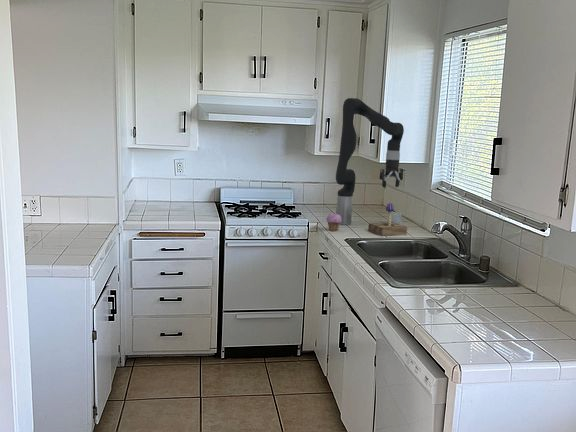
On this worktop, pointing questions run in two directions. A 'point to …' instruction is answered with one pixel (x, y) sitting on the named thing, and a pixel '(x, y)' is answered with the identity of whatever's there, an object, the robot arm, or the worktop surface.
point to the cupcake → (334, 221)
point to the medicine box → (396, 217)
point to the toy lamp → (389, 209)
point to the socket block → (387, 229)
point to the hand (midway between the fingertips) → (390, 187)
